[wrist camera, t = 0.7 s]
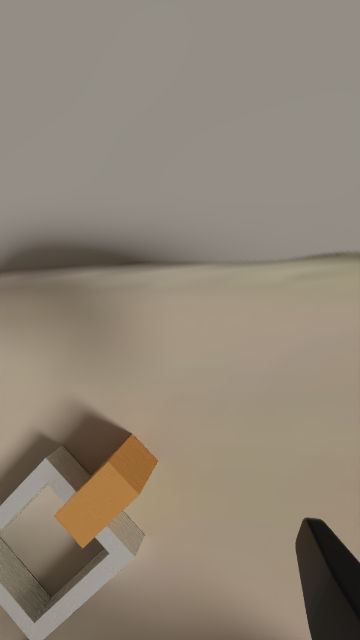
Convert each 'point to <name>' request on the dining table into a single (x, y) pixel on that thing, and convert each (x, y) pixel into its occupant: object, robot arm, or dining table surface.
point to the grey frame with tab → (75, 531)
